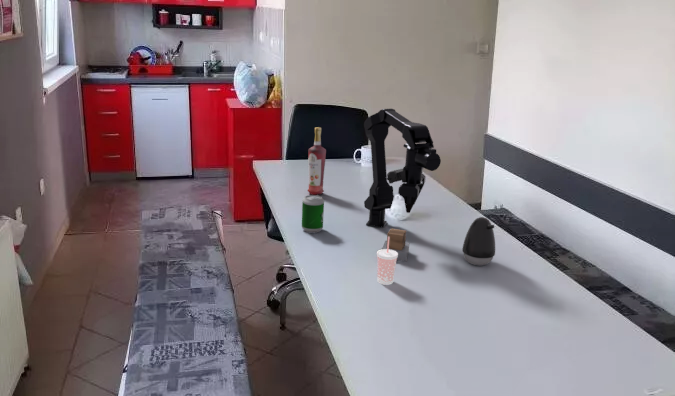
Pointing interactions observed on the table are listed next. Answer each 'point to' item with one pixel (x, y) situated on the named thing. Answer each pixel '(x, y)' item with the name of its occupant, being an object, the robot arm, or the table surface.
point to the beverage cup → (386, 265)
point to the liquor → (316, 165)
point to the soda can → (312, 213)
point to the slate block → (400, 251)
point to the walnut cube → (396, 239)
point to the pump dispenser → (479, 242)
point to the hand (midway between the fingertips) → (410, 208)
